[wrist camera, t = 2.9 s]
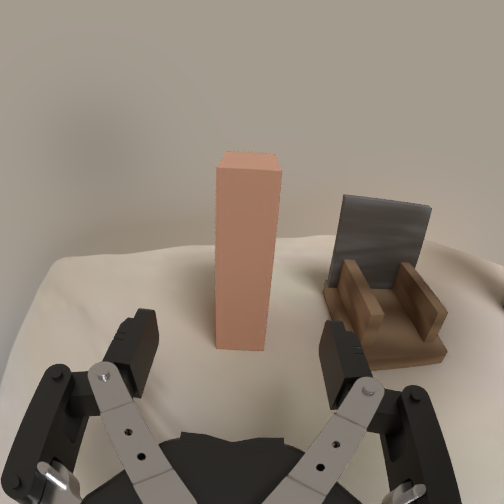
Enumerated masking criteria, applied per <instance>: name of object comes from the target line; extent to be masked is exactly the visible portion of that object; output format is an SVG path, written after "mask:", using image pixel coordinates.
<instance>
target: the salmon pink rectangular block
mask: <svg viewBox="0 0 504 504" xmlns="http://www.w3.org/2000/svg"><path fill="white" fill-rule="evenodd" d="M281 178H282V170H281V167H280V165H279V163H278V160H277V158H276V156H275V154H267V153H251V152H231V151H227V152H226V153H225V155H224V156H223V158H222V159H221V161H220V163H219V164H218V166H217V170H216V217H215V219H216V221H215V225H216V226H215V308H216V348H219V349H234V350H253V351H263V350H264V341H265V333H266V324H267V316H268V307H269V298H270V289H271V280H272V271H273V261H274V252H275V242H276V232H277V222H278V211H279V201H280V190H281Z"/></svg>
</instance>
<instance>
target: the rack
mask: <svg viewBox="0 0 504 504" xmlns="http://www.w3.org/2000/svg"><path fill="white" fill-rule="evenodd" d="M431 211H432V208H431V207H430V206H427V205H421V204H415V203H408V202H401V201H393V200H386V199H378V198H369V197H362V196H353V195H343V201H342V207H341V213H340V219H339V225H338V230H337V235H336V241H335V246H334V251H333V256H332V261H331V266H330V271H329V276H328V280H325V285H324V289H323V293H324V296H325V299H326V302H327V305H328V308H329V311H330V314H331V318H332V320H337V321H343V323H344V326H345V329H346V331H352V332H353V333H354V334H355V335H356V336H357V337H358V338H359V340H360V343H361V346H362V348H363V351H364V354H365V357H366V359H367V362H368V365H369V368H370V370H383V369H394V368H404V367H413V366H421V365H428V364H435V363H441V362H442V360H443V359H444V357H445V355H446V353H447V352H448V351H447V349H446V348H445V346H444V345H443V343H442V341H441V340H440V338H439V336H438V335H437V334H438V332H439V330H440V328H441V326H442V324H443V322H444V320H445V318H446V316H447V314H448V311H447V310H446V309H445V307H444V306H443V305H442V303H441V302H440V301H439V299H438V298H437V297H436V295H435V294H434V293H433V291H432V290H431V289H430V288H429V286H428V285H427V284H426V283H425V281H424V280H423V279H422V277H421V276H420V275H419V274H418V273H417V271H416V270H415V267H416V264H417V260H418V257H419V254H420V251H421V247H422V244H423V241H424V237H425V233H426V230H427V226H428V222H429V218H430V214H431Z"/></svg>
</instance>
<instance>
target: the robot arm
mask: <svg viewBox="0 0 504 504" xmlns="http://www.w3.org/2000/svg"><path fill="white" fill-rule="evenodd" d="M503 306H504V298H503ZM158 344H159V331H158V325H157V319H156V313H155V311H154V310H150V309H141V308H139V309H138V310H137V312H136V314H135V316H134V318H127V319H126V320H125V321H124V322H122V323H121V324H120V326H119V328H118V330H117V333H116V334H115V336H114V339H113V340H112V342H111V344H110V346H109V348H108V350H107V352H106V354H105V356H104V359H103V361H102V362H99V363H96V364H94V365H93V366H92V367H91V368H90V369H89V371H85V372H71V371H70V369H69V367H67V366H66V365H64V364H55V365H52V366H50V367H49V368H48V369H47V370H46V371H45V373H44V375H43V377H42V379H41V381H40V383H39V385H38V387H37V389H36V391H35V393H34V396H33V398H32V400H31V402H30V404H29V407H28V409H27V411H26V413H25V416H24V418H23V420H22V423H21V425H20V427H19V430H18V432H17V435H16V437H15V440H14V442H13V445H12V448H11V450H10V453H9V456H8V459H7V461H6V464H5V467H4V470H3V473H2V477H1V485H2V488H3V490H4V492H5V493H6V494H7V495H8V496H9V497H11V498H12V499H14V500H15V501H17V502H18V503H20V504H362V503H361V502H360V501H359V500H357V499H356V498H355V497H354V496H353V495H352V494H350V493H349V492H348V491H347V490H346V489H345V488H344V487H342V486H341V485H340V484H339V483H338V482H337V479H338V478H339V476H340V475H341V473H342V472H343V470H344V469H345V467H346V465H347V464H348V462H349V461H350V459H351V457H352V456H353V454H354V452H355V451H356V449H357V447H358V445H359V444H360V442H361V440H362V438H363V437H364V435H365V433H366V431H368V432H374V433H379V434H380V439H381V444H382V449H383V454H384V459H385V464H386V470H387V476H388V482H389V488H390V493H388V494H387V495H386V496H385V497H384V499H383V501H382V504H462V502H461V498H460V494H459V490H458V486H457V482H456V478H455V474H454V471H453V467H452V463H451V460H450V457H449V453H448V450H447V447H446V444H445V441H444V437H443V434H442V431H441V428H440V425H439V422H438V420H437V417H436V414H435V411H434V408H433V406H432V403H431V400H430V398H429V395H428V393H427V392H426V391H425V390H424V389H423V388H422V387H420V386H417V385H410V386H407V387H405V388H404V390H403V391H402V392H400V391H394V390H388V389H385V388H384V387H383V385H382V384H381V383H380V382H379V381H378V380H377V379H375V378H373V376H372V373H371V370H370V368H369V365H368V362H367V359H366V357H365V354H364V351H363V348H362V346H361V343H360V340H359V338H358V337H357V336H356V335H355V334H354V333H353V332H352V331H346V329H345V326H344V323H343V321H337V320H327V321H326V322H325V326H324V329H323V333H322V337H321V340H320V344H319V358H320V362H321V367H322V372H323V376H324V381H325V386H326V391H327V396H328V401H329V406H330V410H337V409H338V410H337V412H336V413H334V414H333V416H332V417H331V419H330V420H329V421H328V423H327V424H326V426H325V427H324V429H323V430H322V431H321V433H320V434H319V436H318V437H317V438H316V440H315V441H314V442H313V444H312V445H311V446H310V448H309V449H308V450H307V452H306V453H305V452H303V451H301V450H300V449H297V448H295V447H293V446H289V445H285V444H284V438H254V439H249V440H243V441H237V442H229V441H226V440H222V439H219V438H215V437H212V436H209V435H205V434H196V433H187V432H181V436H180V438H176V439H171V440H168V441H165V442H162V443H160V444H157V442H156V440H155V439H154V437H153V435H152V434H151V432H150V430H149V428H148V427H147V425H146V423H145V421H144V419H143V417H142V416H141V414H140V412H139V410H138V408H137V406H136V404H135V402H134V401H133V397H136V398H141V397H142V394H143V391H144V387H145V384H146V381H147V378H148V375H149V372H150V369H151V366H152V363H153V360H154V357H155V354H156V351H157V348H158ZM89 416H101V418H102V420H103V423H104V425H105V428H106V430H107V432H108V435H109V437H110V439H111V441H112V444H113V446H114V448H115V450H116V452H117V454H118V456H119V458H120V460H121V462H122V464H123V466H124V468H125V469H124V470H123V471H121V472H120V473H118V474H117V475H116V476H114V477H113V478H111V479H110V480H109V481H107V482H106V483H104V484H103V485H101V486H100V487H98V488H97V489H95V490H94V491H92V492H91V493H89V494H88V495H87V496H86V497H85V498H84V499H83V500H82V498H81V496H80V484H79V481H78V479H77V478H76V477H75V476H74V475H73V471H74V467H75V463H76V460H77V456H78V452H79V449H80V445H81V442H82V439H83V435H84V432H85V429H86V425H87V422H88V419H89Z"/></svg>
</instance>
